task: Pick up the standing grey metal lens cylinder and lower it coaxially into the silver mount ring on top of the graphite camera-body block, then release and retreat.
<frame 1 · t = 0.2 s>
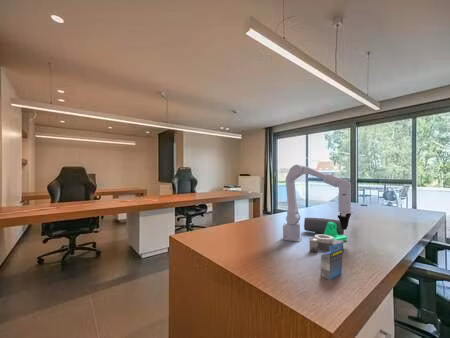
hand: (344, 227, 118), 10 cm above the table, fingers open, 7 cm apart
camera mount: (335, 241, 129), on the table
camera body: (328, 247, 117), on the table
bluetooth speaker: (323, 234, 143), on the table
label tape box: (331, 276, 85), on the table
lens: (313, 251, 112), on the table
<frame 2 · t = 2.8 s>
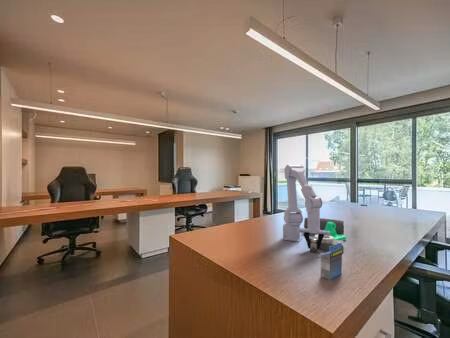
hand: (313, 248, 112), 1 cm above the table, fingers closed on lens, 4 cm apart
lens: (313, 251, 112), on the table, touching gripper
everything else where it was.
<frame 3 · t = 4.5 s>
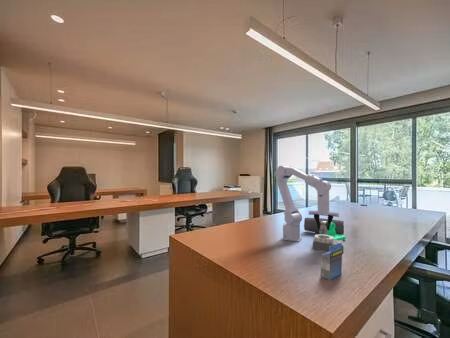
hand: (323, 229, 118), 9 cm above the table, fingers closed on lens, 4 cm apart
lens: (323, 233, 117), point 8 cm above the table, touching gripper
everything else where it was.
when the fingers open (6 cm above the table, at t = 6.1 s): lens stays where it is, resting on camera body.
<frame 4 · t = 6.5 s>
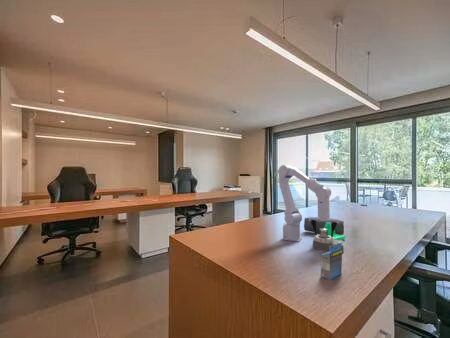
hand: (323, 235, 118), 6 cm above the table, fingers open, 7 cm apart
lens: (323, 240, 117), point 4 cm above the table, touching camera body
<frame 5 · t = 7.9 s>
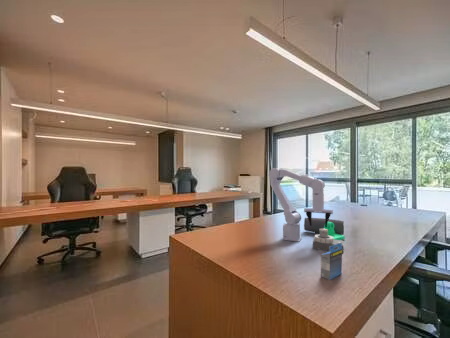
hand: (318, 226, 123), 10 cm above the table, fingers open, 7 cm apart
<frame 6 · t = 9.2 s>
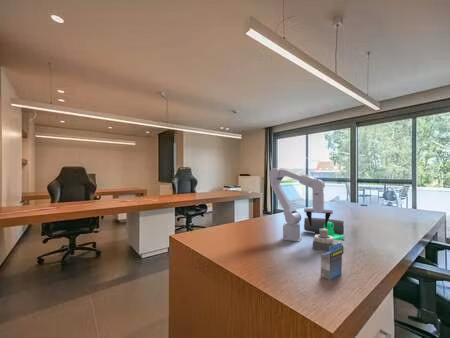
hand: (318, 226, 123), 10 cm above the table, fingers open, 7 cm apart
at the end: lens 0.6 cm from the target spot on the camera body, point 3.5 cm above the camera body's base; lens tilted 0°; the gripper is holding nothing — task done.
